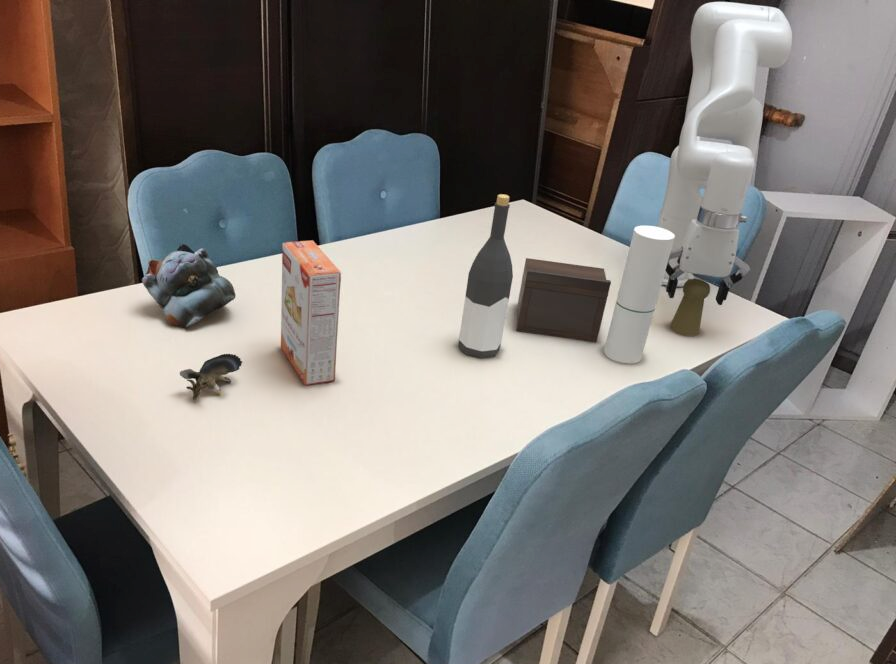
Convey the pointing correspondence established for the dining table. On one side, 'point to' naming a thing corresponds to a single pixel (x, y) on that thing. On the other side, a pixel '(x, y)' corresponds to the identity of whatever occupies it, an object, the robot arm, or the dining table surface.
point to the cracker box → (309, 311)
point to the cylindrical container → (638, 293)
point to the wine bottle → (488, 291)
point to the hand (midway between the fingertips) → (694, 299)
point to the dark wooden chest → (562, 300)
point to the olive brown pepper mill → (690, 308)
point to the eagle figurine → (212, 373)
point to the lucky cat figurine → (187, 286)
